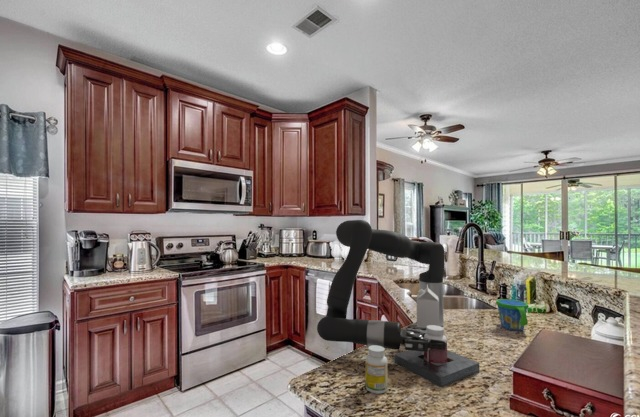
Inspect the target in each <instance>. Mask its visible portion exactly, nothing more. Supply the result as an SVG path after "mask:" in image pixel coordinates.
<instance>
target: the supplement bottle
mask: <svg viewBox="0 0 640 417" xmlns="http://www.w3.org/2000/svg"><path fill="white" fill-rule="evenodd" d="M367 349H368V350H367V353H368V355H366V357H365V381H364V382H365V388H366V390H367V391H368V392H369V393H372V394H377V395H378V394H379V395H380V394H384V393H386V392H387V390H388V387H389V386H388V383H389V382H388V374H389V373H388V365H389V364H388V358H387V357H386V356H385V354H386V352H385V351H386V348H383V347H382V346H378V345H372V346H370V345H368V348H367Z"/></svg>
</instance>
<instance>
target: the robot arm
mask: <svg viewBox="0 0 640 417" xmlns="http://www.w3.org/2000/svg"><path fill="white" fill-rule="evenodd" d="M335 236H336V238H337V241H338V242H339V243H340V244H341V245H343V246H344V247H349V248H348V249H349V250H348V253H347V256H346V258H345V259H344V261H343V263H342V265H341V266H340V268H339V269H338V270H337V272H336V273H335V274H334V277H332V281H331V285H330V288H329V291H328V295H327V299H326V305H327V311H326V316H324V317H322V318H321V319H319V321H318V322H317V326H316V331H317V334H318V335H319V337H320V338H321V339H323V340H325V341H328V342H341V343H342V342H343V343H351V344H356V345H357V344H358V345H365V346H372V345H378V346H382V347H383V348H384V349H390V350H396V351H399V350H400V349H401V345H404V351H408V350H412V351H425V352H427V351H428V350H429V349H430V348H431V349H440V350H445V341H441V340H432V339H431V341H430V339H427V338H424V335H425V334H427V331H426V328H421V327H417V326H414V325H413V326H412V325H407V326H406V328H403V329H402V328H401V327H402V326H401V323H400V322H397V321H388V320H377V319H373V320H370V319H369V320H368V319H361V318H360V319H359V318H358V319H356V318H355V319H351V318H350V319H348V318H347V314H348V307H349V303H350V300H351V295H352V292H353V287H354V284H355V280H356V278H357V275H358V272H359V270H360V268H361V266H362V263H363V261H364V258H365V255H366V253H367V251H368V250H371V251H373V252H376V253H379V254H383V255H385V256H390V257H394V258H400V259H404V258H405V259H406V258H407V259H410V260H412V261H415V262H417V263H420V264H423V265H428V269H427V270H426V271H423V272H421V273H419V276H418V286H419V287H418V288H419V290H421V289H423V290H425V289H426V288H427V285H428V288H429V289H430V290H431V291H432V292H433V293H434V294H436V295H437V296H438V299H439V326H441V327H443V326H444V276H445V264H446V263H445V262H446V254H445V253H446V252H445V248H444V245H443V244H442V243H440V242H435V241H417V240H416V241H415V240H410V238H409V237H408V236H407V235H405V234H403V233H400V232H396V231H392V230H386V229H373V228H372V226H371V224H370V223H369V221H367V220H365V219H364V220H363V219H354V220H353V219H352V220H350V219H349V220H345V221H343V222H341V223H340V224H339V225H337V228H336V231H335ZM419 290H418V291H419ZM444 334H445V333H444ZM444 334H443V335H444ZM444 336H445V335H444Z"/></svg>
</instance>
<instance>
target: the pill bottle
mask: <svg viewBox="0 0 640 417" xmlns="http://www.w3.org/2000/svg"><path fill="white" fill-rule="evenodd" d="M426 331H427V334H425V335H424V338H427V339H430V341H431V339H432V340H441V341H445V350H440V349H431V348H430V349H429V350H428V351H427V352H425V351H424V360H426V361H428V362H430V363H432V364H434V365H437V366H439V365H442V364H445V363H447V350H448V339H447V337H446V335H443V334H445V328H444V327H443V326H436V325H428V326H427V327H426Z"/></svg>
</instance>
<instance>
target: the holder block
mask: <svg viewBox="0 0 640 417" xmlns="http://www.w3.org/2000/svg"><path fill="white" fill-rule="evenodd" d="M393 356H394V357H393V358H394V360H393V362H394V364H396V365H397V366H399V367H401V368H403V369H404V370H407V371H408V372H411V373H412V374H414V375H417V376H418V377H420V378H422V379H424V380H426V381H428V382H430V383H431V384H433V385H435V386H438V387H439V388H445V387H446V386H449V385H452V384H454V383H457V382H459V381H461V380H464V379H466V378H468V377H471V376H473V375H476V374H478V373H480V362H478V361H475V360H474V359H470V358H468V357H466V356H463V355H460V354H458V353H456V352H453V351H450V350H448V349H447V363H445V364H442V365H439V366H437V365H434V364H432V363H430V362H428V361H426V360H424V351H412V350H404V351H401V352H397V353H394V355H393Z"/></svg>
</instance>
